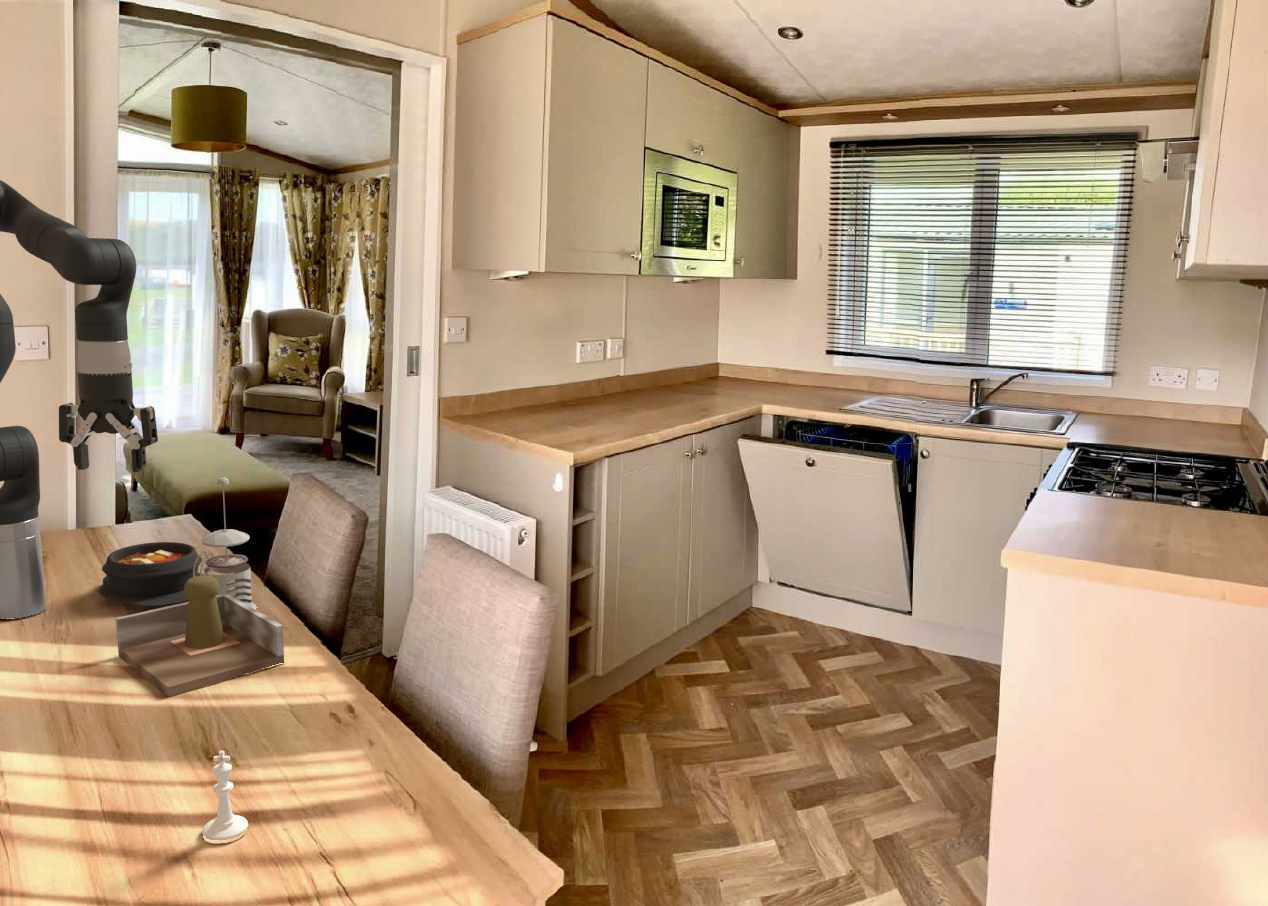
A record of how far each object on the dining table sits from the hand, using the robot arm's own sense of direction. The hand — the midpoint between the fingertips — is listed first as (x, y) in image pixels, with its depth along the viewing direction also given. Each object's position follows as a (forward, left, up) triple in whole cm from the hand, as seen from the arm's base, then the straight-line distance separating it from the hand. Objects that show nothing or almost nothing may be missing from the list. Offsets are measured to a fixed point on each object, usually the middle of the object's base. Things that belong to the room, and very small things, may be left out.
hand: (110, 470), depth 157 cm
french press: (-4, +19, -30) cm, 36 cm away
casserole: (-22, +13, -30) cm, 39 cm away
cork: (+11, +9, -28) cm, 32 cm away
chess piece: (+63, -11, -30) cm, 71 cm away
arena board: (+14, +7, -30) cm, 34 cm away
